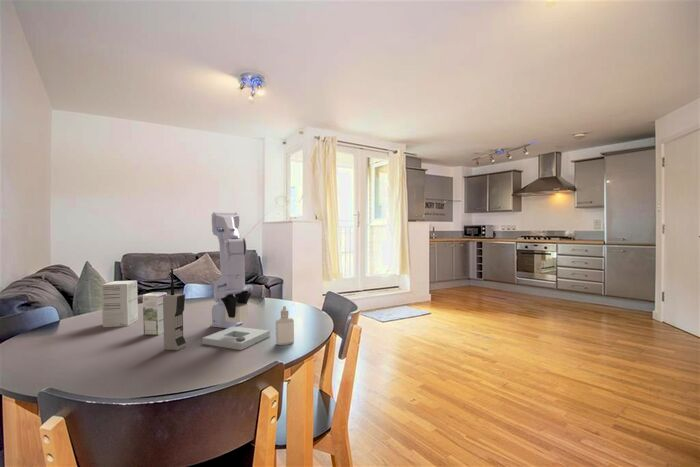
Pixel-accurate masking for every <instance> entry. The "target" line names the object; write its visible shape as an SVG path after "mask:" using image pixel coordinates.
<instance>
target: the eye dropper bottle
mask: <svg viewBox="0 0 700 467" xmlns="http://www.w3.org/2000/svg"><path fill="white" fill-rule="evenodd" d="M294 322H295V320H294V319H293V318H292V317H291V316H289V309H287V306H286V305H283V306H282V309H281V310H280V317H278V318H277V319H276V321H275V343H276V345H278V346H286V345H291V344H293V343H295V325H294V324H295V323H294Z"/></svg>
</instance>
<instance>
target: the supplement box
mask: <svg viewBox="0 0 700 467" xmlns="http://www.w3.org/2000/svg"><path fill="white" fill-rule="evenodd" d="M101 308H102V309H101V311H102V312H101V313H102V328H113V327H114V328H115V327H128V326H130V325H132V324H134V323H135V322H137V321H138V320H139V308H138V280H114V281H110V282H107V283H104V284H101Z"/></svg>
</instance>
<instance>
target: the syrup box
mask: <svg viewBox="0 0 700 467" xmlns="http://www.w3.org/2000/svg"><path fill="white" fill-rule="evenodd" d="M166 295H168V293H167V292H149V293H145V294H143V295H142V316H143V317H142V320H143V321H142V322H143V335H144V336H160V335H162V334H164V324H163V296H166Z"/></svg>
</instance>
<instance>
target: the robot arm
mask: <svg viewBox="0 0 700 467" xmlns="http://www.w3.org/2000/svg"><path fill="white" fill-rule="evenodd" d="M211 227H212V228H211V232H212V234H213V236H215V237H217V239H218V244H219V246H218V247H219V264H220V278H218V279H217V280H216V281H215V282H214V283H213V300H214V302H215V303H214V304H213V305H212V306H211V323H212V324H210V327H214V328H215V327H216V328H222V329H227V328H230V327H233V326H236V327H238V326H239V325H241V324H242V325H243V324H244V321H243V322H231V321H226V313H225V307H226V310H227V313H228V316H229V317H230V318H234V317H235V312H236V303H243V304H248V302H249V299H250V298H251V296H252V292H251V291H253V290H254V285H253V284H246V272H245V263H246V262H245V256H246V255H247V242H246V239H245V238H244V237H242V235H241V233H240V230H239V227H240V214H239V213H238V212H236V211H235V212H215V211H213V212H212V214H211Z"/></svg>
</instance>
